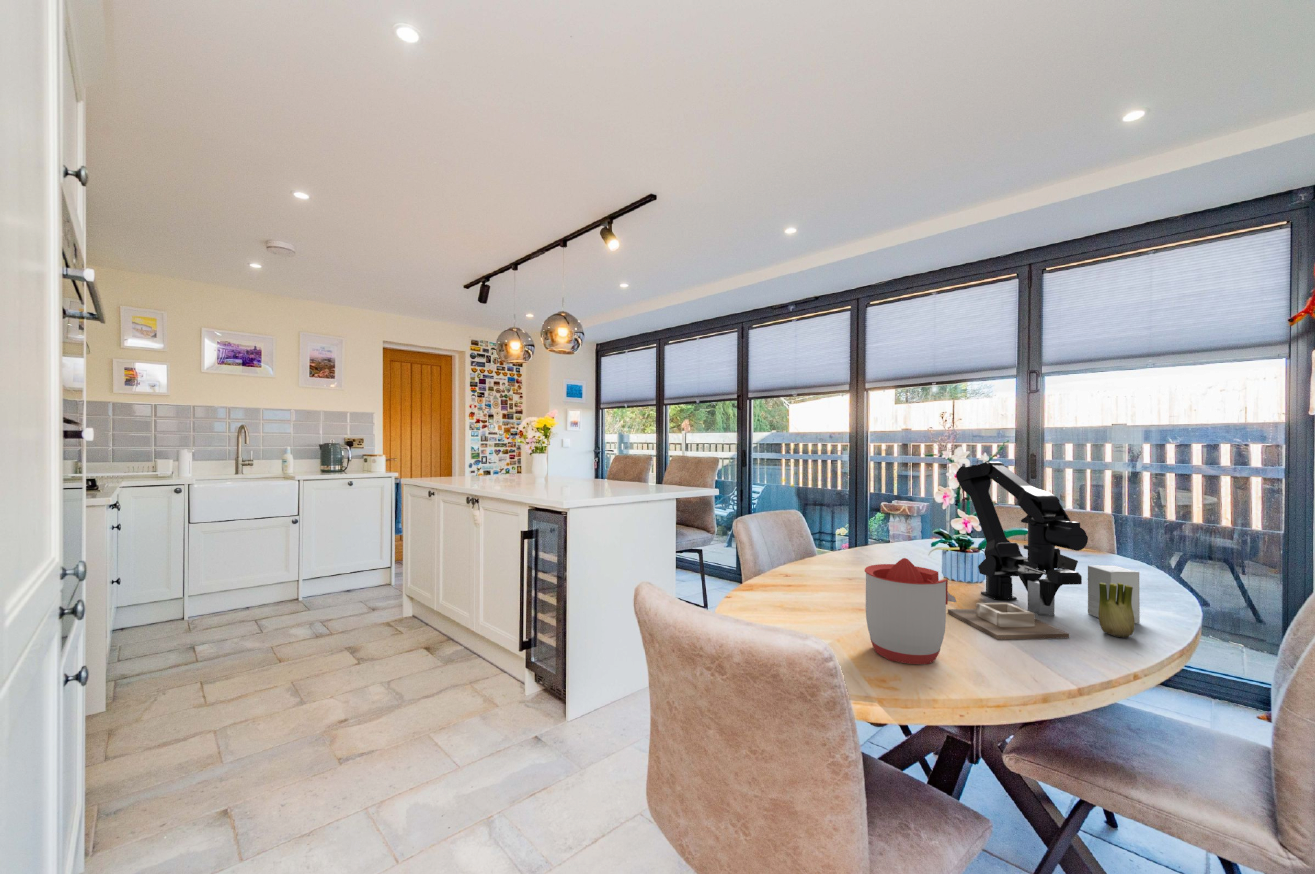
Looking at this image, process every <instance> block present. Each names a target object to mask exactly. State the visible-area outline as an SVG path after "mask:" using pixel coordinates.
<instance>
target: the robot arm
mask: <svg viewBox="0 0 1315 874" xmlns="http://www.w3.org/2000/svg"><path fill="white" fill-rule="evenodd" d="M997 477H998V478H997ZM955 478H956V480H957V483H958V484H959V487H960V488H961V489H962V490H963V491H964V492H965V493H966V494H967V495H968V496H969V497H970V499H971V503H972V505H973V508H974V510H975V511H974V512H975V513H976V514H975V515H977V518H978V521H979V524H980V526H981V531H982V532H983V535H984V538H985V541H986V545H985V548H984V551H983V553H984V556H985V557H984V558H985V559H983V560H982V561H981V563H979V564H978V566H977V568H978V571H979V574H981V575H984V576H985V591H980V594H982V595H984V596H986V597H988V598H991V599H993V600H995V601H997V600H998V601H999V600H1003V601H1004V600H1007V601H1008V600H1018V597H1017V596H1014V595H1013V577H1019V579H1020V581H1021V582H1022V584H1023V586H1024V588H1025V590H1026V592H1027V593H1028V580H1039V584H1040V588H1041V592H1042V596H1043V600H1044V603H1045V605H1046V606H1050V605H1051V603H1052V601H1053V598H1054V596H1055V597H1056V594H1057V591H1058V590H1059V589H1060V588H1061V587H1062V586H1063V585H1067V586H1068V585H1071V586H1072V585H1082V584H1083V583H1082V581H1083V579H1082V577H1083V576H1082V575H1081V574H1080V573H1079V572H1078V571H1076V568H1077V566H1078V563H1079V561H1078V560H1077V559H1074V558H1072V557H1069V556H1066V555H1063V554H1061V549H1060V548H1063V549H1068V550H1072V551H1076V552H1077V551H1078V552H1079V551H1082V550H1083V549H1084V548H1086V546H1087V545H1088V541H1089V536H1088V534H1087V532H1086V530H1084V528H1083V527H1081V522H1079V521H1071V519H1070V517H1069V515H1068V513H1067V512H1066V511H1065V509H1064V508H1063V506H1062V503H1060V499H1059V497H1058V496H1056V495H1055V494H1053V493H1051V492H1049V491H1047V490H1044V489H1040V488H1038V487H1035V486H1033V485H1031V484H1029V482H1027V481H1025V480H1024V479H1023V478H1021V477H1020V476H1018V475H1017V474H1016V473H1015V472H1013V471H1012V470H1010V469H1009V468H1008V467H1006V466H1005V464H1004V462H1001V461H984V462H981V463H980V464H975V465H974V464H973V465H962V466H960V467H959V468H958V470H957V471H956V473H955ZM992 480H993V481H994V482H996V484H998V485H999V486H1000V487H1001V488H1002V489H1004V490H1005V491H1006V492H1007V493H1009V494H1010V495H1011V496H1013V497H1014V498H1015V499H1016V500H1017V505H1018V507H1019V508H1020V509H1021V510H1022V511H1023V512H1024V513H1025V514H1026V516H1025V517H1023V518H1022V519H1021V520H1020V523H1023V524H1027V544H1023V549H1024V550H1027V557H1026V556H1024V555H1023V554H1022V553H1021V550H1020V547H1019V545H1018V543H1017V542H1011V541H1010V540H1009V539H1008V538H1007V537H1006V535H1005V530H1004V528H1003V525H1002V523H1001V520H1000V517H999V515H998V513H997V510H996V508H995V505H994V502H993V500H992V497H991V494H990V488H991V485H992ZM1043 576H1045V577H1044V578H1042V577H1043Z"/></svg>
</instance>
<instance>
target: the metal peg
mask: <svg viewBox="0 0 1315 874" xmlns="http://www.w3.org/2000/svg"><path fill="white" fill-rule="evenodd" d="M1055 597H1056V595H1055V596H1054V598H1053V601H1052V603H1051V605H1050V606H1046V605H1045V603H1044V600H1043V596H1042V592H1041V588H1040V584H1039V580H1028V592H1027V611H1030V612H1032V613H1034V614H1035V615H1037V616H1042V617H1043V616H1055Z"/></svg>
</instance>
